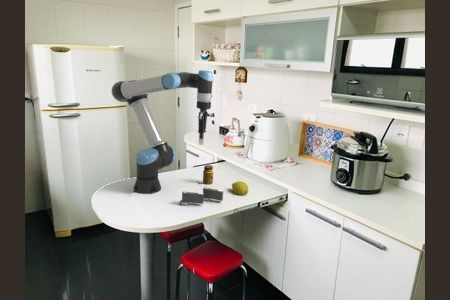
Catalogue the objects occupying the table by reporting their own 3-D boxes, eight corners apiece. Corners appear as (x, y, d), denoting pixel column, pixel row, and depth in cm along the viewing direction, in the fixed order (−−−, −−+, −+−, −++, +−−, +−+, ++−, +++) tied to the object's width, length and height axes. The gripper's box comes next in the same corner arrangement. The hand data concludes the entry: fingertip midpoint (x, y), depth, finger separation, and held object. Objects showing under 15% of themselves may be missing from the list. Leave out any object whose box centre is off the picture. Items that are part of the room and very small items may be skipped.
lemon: (251, 196, 184) (252, 183, 181) (240, 199, 179) (241, 186, 177) (238, 190, 192) (239, 177, 189) (228, 193, 187) (229, 180, 185)
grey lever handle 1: (178, 205, 164) (179, 193, 162) (180, 201, 169) (181, 189, 167) (202, 207, 164) (202, 195, 162) (203, 203, 168) (204, 191, 167)
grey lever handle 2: (199, 199, 172) (199, 188, 170) (202, 196, 176) (203, 185, 175) (220, 204, 169) (221, 192, 167) (223, 200, 173) (224, 189, 171)
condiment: (215, 186, 196) (216, 167, 193) (203, 188, 191) (204, 169, 188) (209, 182, 202) (210, 163, 198) (197, 184, 197) (198, 165, 194)
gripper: (208, 103, 162) (205, 148, 169) (213, 100, 175) (210, 142, 181) (194, 101, 163) (191, 146, 170) (199, 98, 176) (197, 140, 182)
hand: (201, 144), depth 175 cm, fingers closed
